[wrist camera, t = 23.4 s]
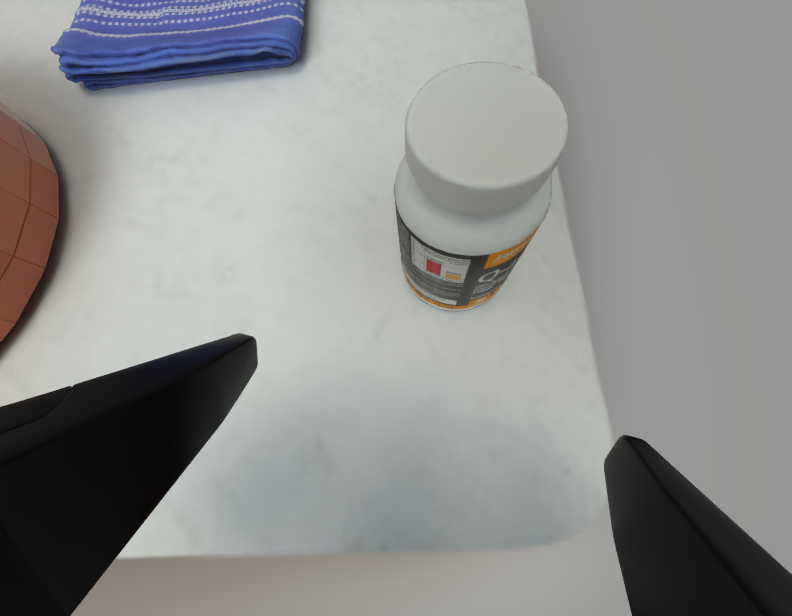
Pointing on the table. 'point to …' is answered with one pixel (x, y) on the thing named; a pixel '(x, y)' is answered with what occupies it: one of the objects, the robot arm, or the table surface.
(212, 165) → the table surface
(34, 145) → the bowl
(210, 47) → the dish towel
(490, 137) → the pill bottle
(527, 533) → the table surface
